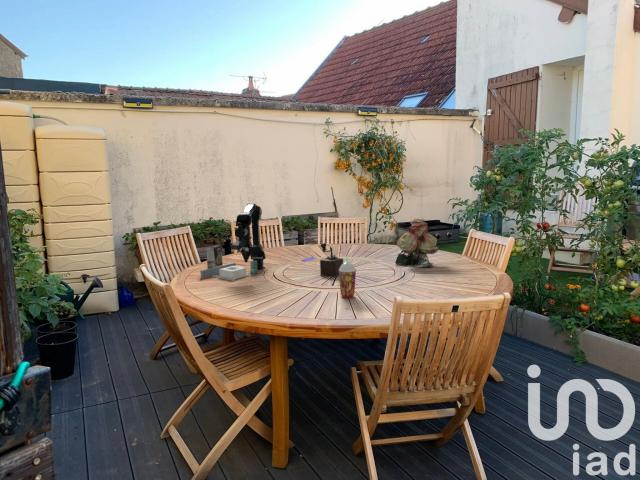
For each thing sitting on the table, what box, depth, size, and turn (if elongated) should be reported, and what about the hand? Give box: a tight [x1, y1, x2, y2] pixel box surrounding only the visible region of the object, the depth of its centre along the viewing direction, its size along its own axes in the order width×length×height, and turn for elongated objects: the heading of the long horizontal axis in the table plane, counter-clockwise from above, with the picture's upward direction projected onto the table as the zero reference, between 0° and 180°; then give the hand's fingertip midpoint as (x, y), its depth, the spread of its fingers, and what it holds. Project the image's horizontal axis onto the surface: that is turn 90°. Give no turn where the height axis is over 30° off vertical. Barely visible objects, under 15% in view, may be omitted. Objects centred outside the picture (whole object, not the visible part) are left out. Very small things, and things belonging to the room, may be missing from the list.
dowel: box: [249, 260, 258, 276], centre depth 266 cm, size 4×4×8 cm
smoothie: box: [338, 256, 357, 299], centre depth 214 cm, size 8×8×20 cm
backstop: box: [200, 262, 251, 282], centre depth 262 cm, size 26×21×5 cm
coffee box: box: [205, 244, 224, 269], centre depth 276 cm, size 9×6×16 cm
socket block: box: [219, 265, 247, 280], centre depth 260 cm, size 11×11×5 cm
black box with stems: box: [319, 242, 344, 278], centre depth 263 cm, size 16×11×18 cm
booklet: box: [301, 257, 318, 262], centre depth 303 cm, size 12×25×1 cm, turn 53°
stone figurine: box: [395, 218, 439, 269], centre depth 285 cm, size 26×29×30 cm
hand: (246, 262), depth 252 cm, fingers closed
